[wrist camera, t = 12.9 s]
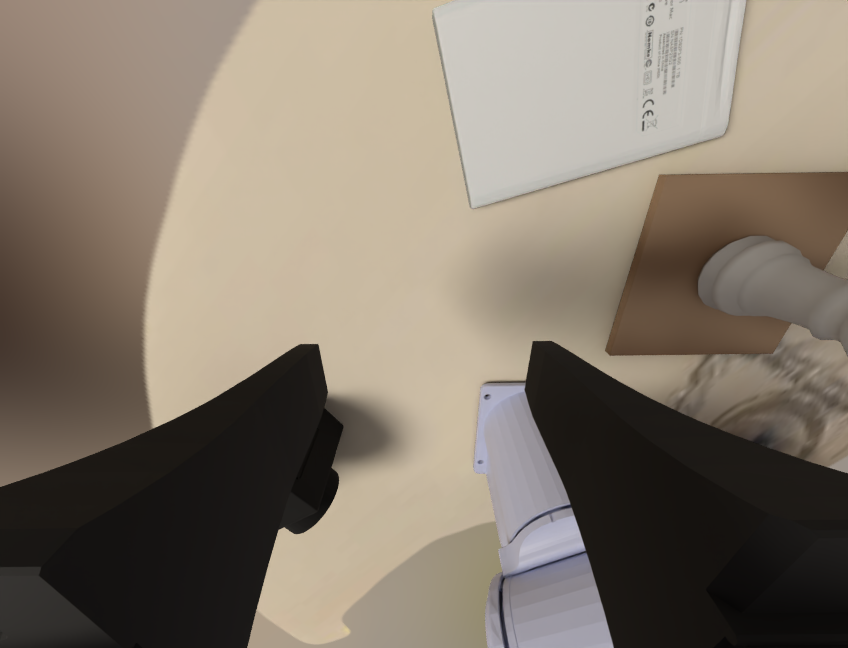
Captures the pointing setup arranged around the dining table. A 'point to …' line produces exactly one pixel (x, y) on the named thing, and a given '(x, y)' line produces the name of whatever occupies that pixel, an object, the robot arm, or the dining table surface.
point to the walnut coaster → (702, 237)
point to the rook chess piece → (776, 287)
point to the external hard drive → (581, 85)
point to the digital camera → (314, 479)
